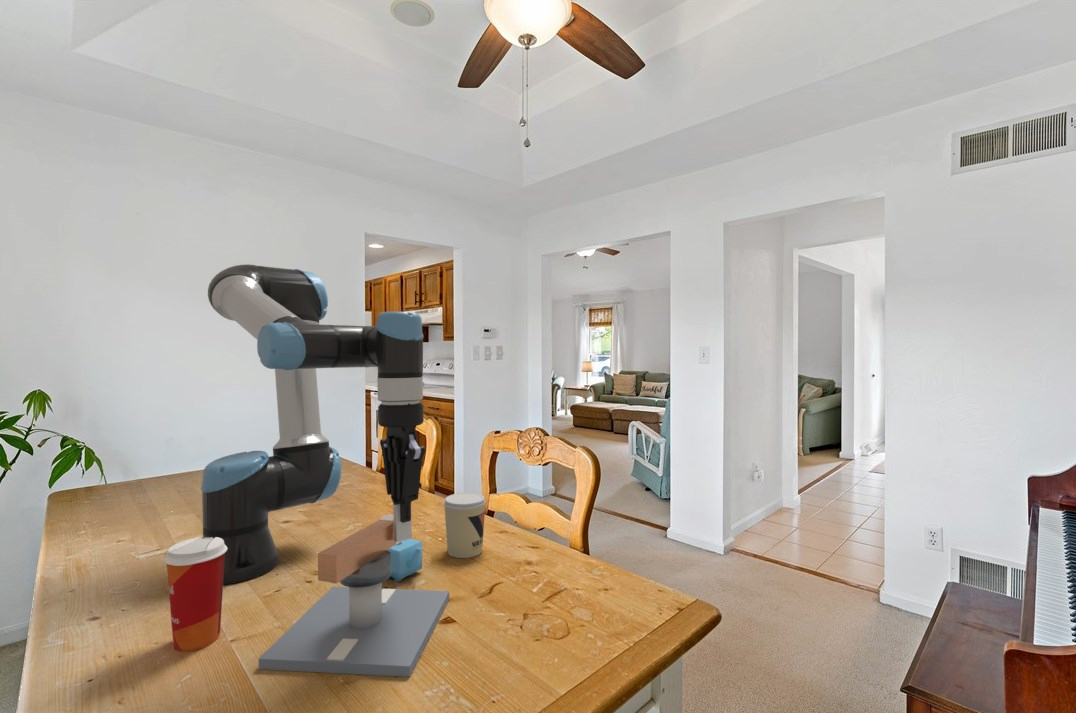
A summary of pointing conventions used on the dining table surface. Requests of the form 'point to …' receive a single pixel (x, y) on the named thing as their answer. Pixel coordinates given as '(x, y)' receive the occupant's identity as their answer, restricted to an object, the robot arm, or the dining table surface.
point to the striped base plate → (360, 632)
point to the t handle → (360, 556)
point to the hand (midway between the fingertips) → (402, 539)
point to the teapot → (405, 558)
